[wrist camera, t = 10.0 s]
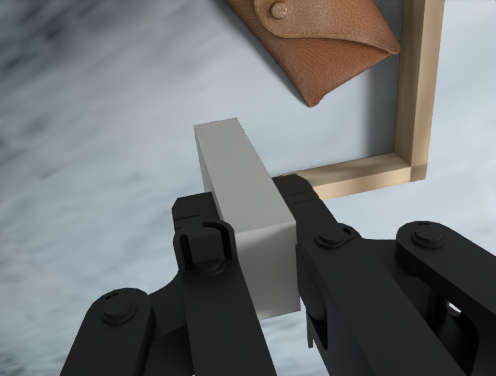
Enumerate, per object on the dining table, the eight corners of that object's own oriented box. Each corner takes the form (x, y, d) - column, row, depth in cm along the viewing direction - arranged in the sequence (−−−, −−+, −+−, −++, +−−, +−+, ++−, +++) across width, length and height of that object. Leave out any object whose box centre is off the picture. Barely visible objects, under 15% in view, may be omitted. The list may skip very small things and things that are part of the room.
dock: (282, 189, 41) (292, 206, 38) (253, -203, 27) (265, -217, 24) (407, 163, 42) (425, 178, 40) (439, -219, 29) (469, -234, 26)
